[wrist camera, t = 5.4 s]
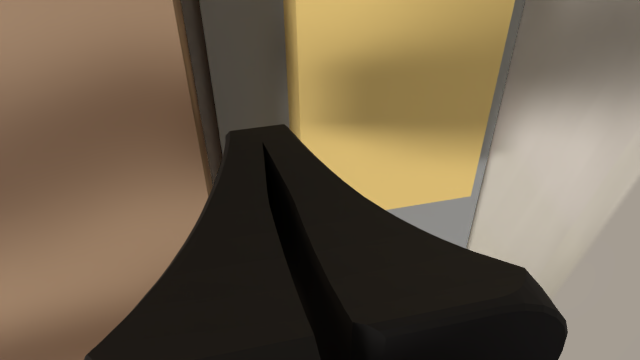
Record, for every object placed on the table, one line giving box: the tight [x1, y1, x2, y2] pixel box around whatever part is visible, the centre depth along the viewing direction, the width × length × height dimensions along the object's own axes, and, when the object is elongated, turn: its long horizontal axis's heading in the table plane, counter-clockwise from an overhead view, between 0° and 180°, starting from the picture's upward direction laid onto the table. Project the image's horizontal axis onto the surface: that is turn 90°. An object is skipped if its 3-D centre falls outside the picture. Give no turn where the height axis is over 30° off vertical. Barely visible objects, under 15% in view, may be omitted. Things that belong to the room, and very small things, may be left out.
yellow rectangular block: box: [283, 0, 515, 210], centre depth 15 cm, size 9×6×2 cm, turn 0°
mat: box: [199, 0, 525, 248], centre depth 16 cm, size 20×10×1 cm, turn 0°
